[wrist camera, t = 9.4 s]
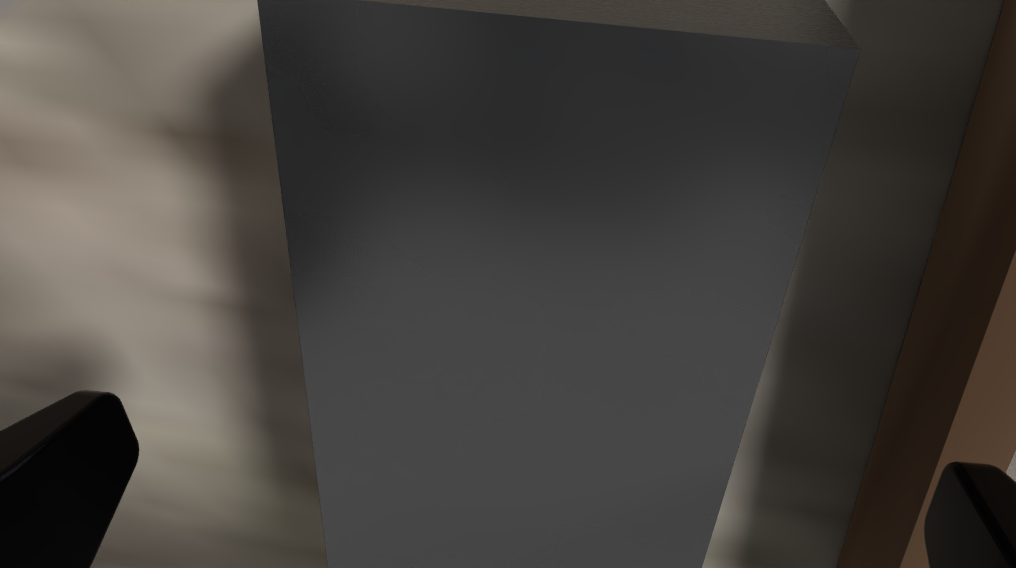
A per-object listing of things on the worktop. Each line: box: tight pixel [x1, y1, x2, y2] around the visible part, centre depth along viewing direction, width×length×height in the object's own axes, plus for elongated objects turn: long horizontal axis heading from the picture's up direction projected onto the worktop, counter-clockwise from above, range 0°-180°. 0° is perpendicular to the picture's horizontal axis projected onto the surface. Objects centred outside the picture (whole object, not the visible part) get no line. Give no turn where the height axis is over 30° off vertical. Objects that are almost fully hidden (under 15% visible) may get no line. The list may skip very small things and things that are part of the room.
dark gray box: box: [257, 0, 860, 568], centre depth 10 cm, size 5×9×4 cm, turn 177°
